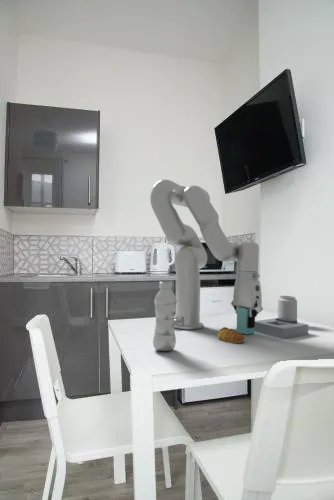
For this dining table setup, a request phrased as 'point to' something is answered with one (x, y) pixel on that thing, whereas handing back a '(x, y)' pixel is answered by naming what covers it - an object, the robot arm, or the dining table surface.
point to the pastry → (230, 335)
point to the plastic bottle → (165, 317)
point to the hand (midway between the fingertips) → (245, 325)
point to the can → (287, 307)
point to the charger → (243, 321)
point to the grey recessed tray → (281, 327)
